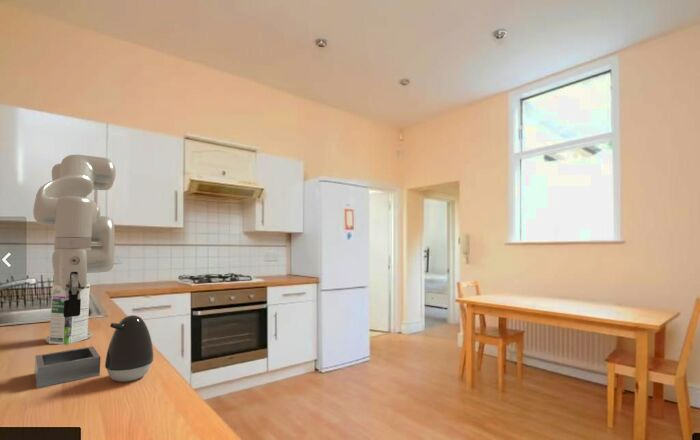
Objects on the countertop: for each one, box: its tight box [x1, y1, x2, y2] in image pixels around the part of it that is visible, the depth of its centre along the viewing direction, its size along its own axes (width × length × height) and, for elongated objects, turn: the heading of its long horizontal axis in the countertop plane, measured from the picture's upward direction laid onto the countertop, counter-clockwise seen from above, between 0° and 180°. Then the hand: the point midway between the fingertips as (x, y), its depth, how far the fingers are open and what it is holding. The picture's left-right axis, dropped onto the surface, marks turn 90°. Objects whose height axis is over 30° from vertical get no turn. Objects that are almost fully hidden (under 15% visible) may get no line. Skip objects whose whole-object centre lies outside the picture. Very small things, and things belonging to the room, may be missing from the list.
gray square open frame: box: [34, 346, 101, 389], centre depth 91 cm, size 12×12×4 cm
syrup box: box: [48, 283, 91, 346], centre depth 92 cm, size 6×6×14 cm
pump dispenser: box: [104, 315, 154, 383], centre depth 90 cm, size 10×10×15 cm
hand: (69, 313), depth 92 cm, fingers closed on syrup box, 8 cm apart
